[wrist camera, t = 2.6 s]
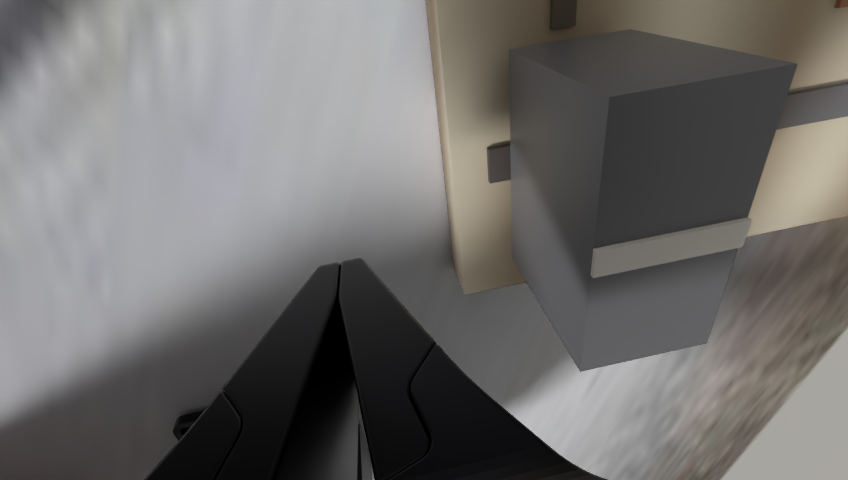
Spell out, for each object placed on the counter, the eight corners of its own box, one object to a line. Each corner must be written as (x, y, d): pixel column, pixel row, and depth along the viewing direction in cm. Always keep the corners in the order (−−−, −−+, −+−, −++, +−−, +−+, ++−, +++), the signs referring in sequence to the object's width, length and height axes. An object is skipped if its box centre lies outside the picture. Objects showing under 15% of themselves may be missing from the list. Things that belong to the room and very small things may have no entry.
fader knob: (512, 258, 13) (582, 375, 10) (508, 49, 10) (612, 98, 6) (604, 239, 14) (710, 346, 10) (630, 29, 10) (803, 64, 6)
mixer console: (454, 269, 16) (465, 299, 14) (423, -18, 11) (436, -16, 9) (878, 183, 17) (928, 203, 16) (1021, -109, 12) (1112, -119, 11)
